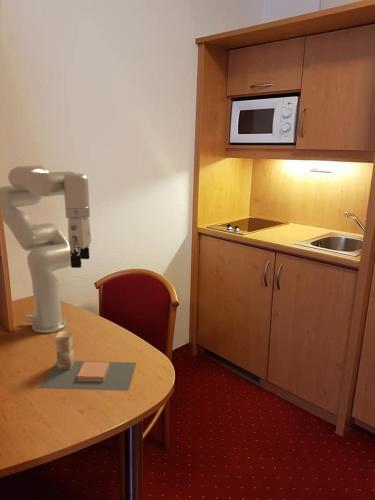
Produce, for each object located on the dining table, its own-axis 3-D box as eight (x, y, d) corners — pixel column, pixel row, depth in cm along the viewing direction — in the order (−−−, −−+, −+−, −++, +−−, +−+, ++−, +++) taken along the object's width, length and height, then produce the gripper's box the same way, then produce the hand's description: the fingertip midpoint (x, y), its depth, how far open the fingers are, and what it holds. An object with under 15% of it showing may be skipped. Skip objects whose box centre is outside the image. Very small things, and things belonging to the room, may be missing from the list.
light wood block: (57, 368, 125) (55, 337, 122) (61, 362, 129) (59, 331, 126) (70, 369, 125) (68, 337, 122) (74, 362, 129) (72, 331, 126)
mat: (39, 389, 116) (39, 387, 116) (57, 362, 130) (57, 360, 130) (128, 392, 115) (128, 390, 115) (136, 364, 130) (136, 362, 130)
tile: (77, 376, 119) (103, 376, 119) (84, 361, 127) (109, 362, 126) (77, 380, 119) (103, 381, 119) (84, 366, 127) (109, 366, 127)
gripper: (81, 217, 121) (84, 271, 125) (95, 208, 137) (98, 256, 142) (57, 217, 121) (60, 270, 125) (74, 208, 138) (77, 255, 142)
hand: (80, 263), depth 134 cm, fingers open, 9 cm apart
